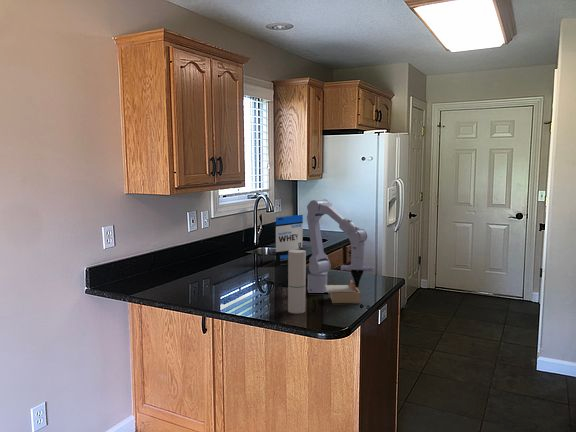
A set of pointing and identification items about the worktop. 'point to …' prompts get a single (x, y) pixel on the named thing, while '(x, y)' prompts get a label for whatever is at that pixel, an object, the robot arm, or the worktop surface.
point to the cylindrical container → (296, 281)
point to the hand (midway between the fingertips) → (357, 286)
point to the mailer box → (345, 297)
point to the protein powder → (288, 237)
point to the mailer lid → (341, 288)
